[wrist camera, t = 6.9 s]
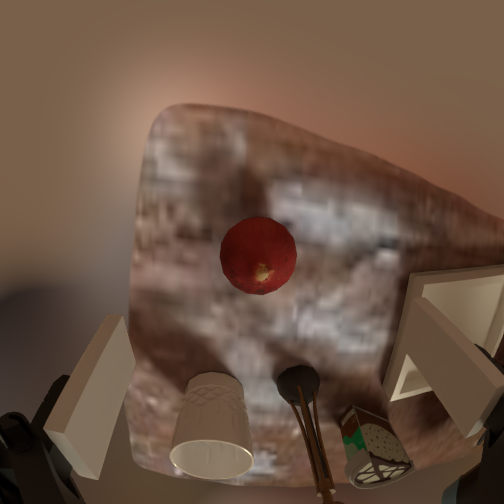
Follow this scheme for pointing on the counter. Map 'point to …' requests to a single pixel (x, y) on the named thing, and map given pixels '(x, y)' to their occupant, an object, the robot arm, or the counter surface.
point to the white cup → (213, 429)
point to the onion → (258, 255)
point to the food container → (372, 450)
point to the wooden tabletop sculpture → (308, 423)
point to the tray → (450, 318)
